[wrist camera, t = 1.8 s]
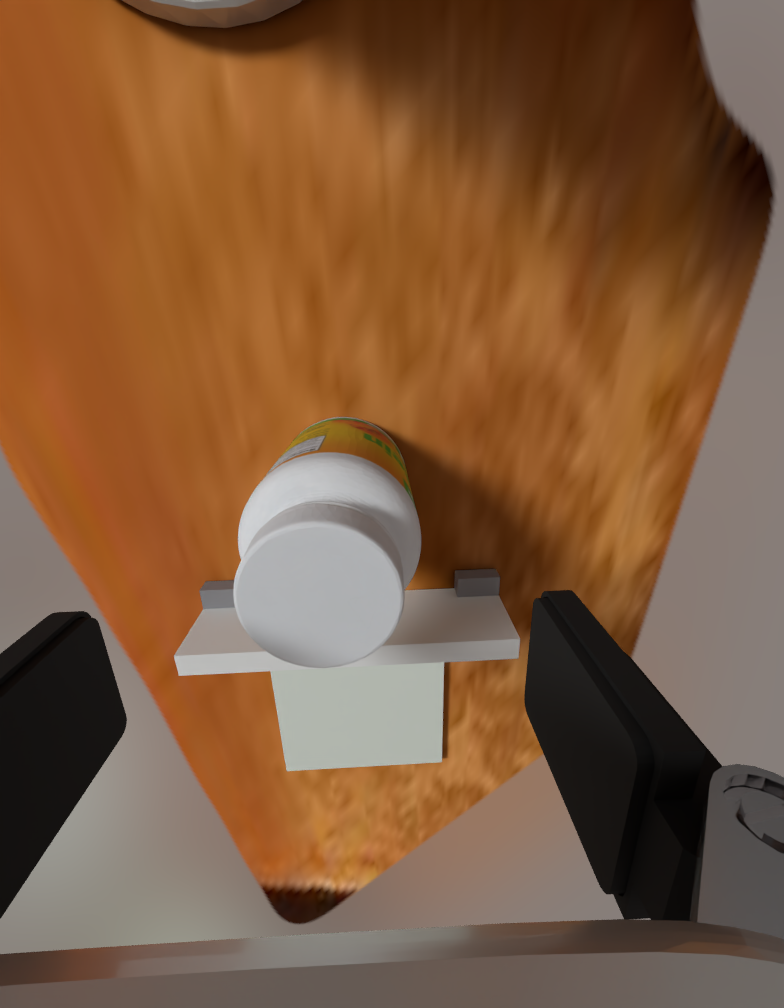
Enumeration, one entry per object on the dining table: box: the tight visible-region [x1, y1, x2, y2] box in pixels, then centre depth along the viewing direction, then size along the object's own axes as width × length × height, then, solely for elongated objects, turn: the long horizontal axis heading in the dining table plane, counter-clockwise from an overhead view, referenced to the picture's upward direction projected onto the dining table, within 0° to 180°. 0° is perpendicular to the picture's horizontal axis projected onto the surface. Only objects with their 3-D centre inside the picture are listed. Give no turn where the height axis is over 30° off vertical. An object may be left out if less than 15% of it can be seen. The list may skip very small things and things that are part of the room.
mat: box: [271, 662, 444, 771], centre depth 23 cm, size 9×9×1 cm
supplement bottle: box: [233, 417, 421, 668], centre depth 14 cm, size 5×5×10 cm
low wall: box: [174, 569, 520, 676], centre depth 19 cm, size 3×14×4 cm, turn 92°
